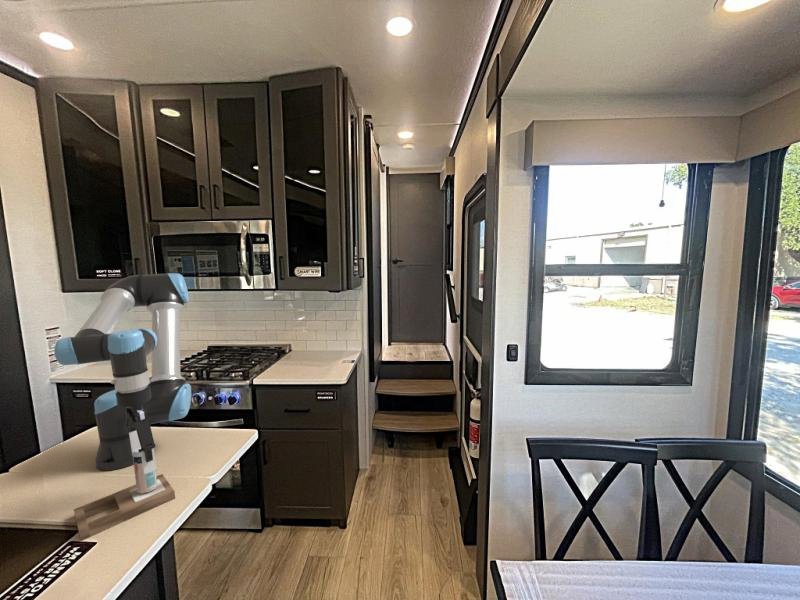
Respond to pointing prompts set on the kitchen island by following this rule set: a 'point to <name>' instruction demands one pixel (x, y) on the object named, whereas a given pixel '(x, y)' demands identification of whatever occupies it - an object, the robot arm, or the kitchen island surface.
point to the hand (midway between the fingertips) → (143, 461)
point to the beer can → (143, 475)
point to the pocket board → (121, 507)
